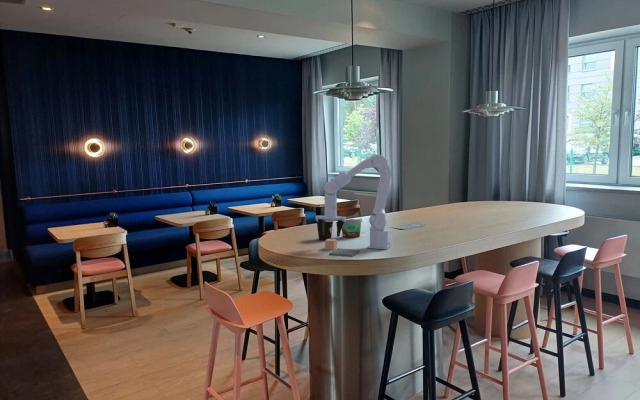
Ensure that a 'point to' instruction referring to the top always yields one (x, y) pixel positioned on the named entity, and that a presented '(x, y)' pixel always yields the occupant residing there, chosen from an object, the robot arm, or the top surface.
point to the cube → (330, 244)
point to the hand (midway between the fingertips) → (330, 235)
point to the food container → (351, 228)
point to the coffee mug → (327, 230)
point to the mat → (344, 252)
